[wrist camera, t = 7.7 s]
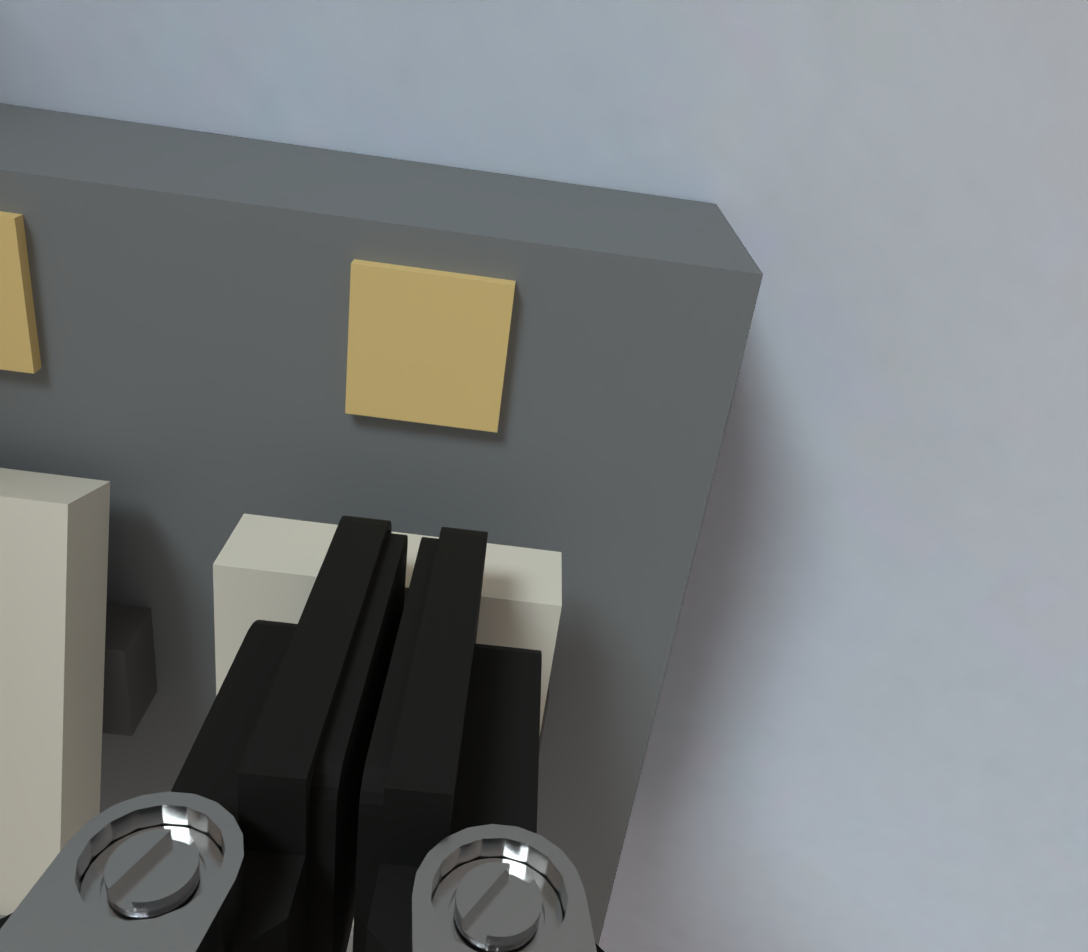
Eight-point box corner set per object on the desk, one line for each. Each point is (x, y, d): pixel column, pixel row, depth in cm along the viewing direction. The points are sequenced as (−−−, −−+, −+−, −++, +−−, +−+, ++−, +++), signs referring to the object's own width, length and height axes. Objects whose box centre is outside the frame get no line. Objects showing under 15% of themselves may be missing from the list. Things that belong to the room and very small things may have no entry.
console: (-595, 20, 14) (-1112, 41, 10) (715, 204, 15) (779, 298, 11) (-323, 724, 21) (-561, 926, 16) (583, 822, 22) (589, 1038, 17)
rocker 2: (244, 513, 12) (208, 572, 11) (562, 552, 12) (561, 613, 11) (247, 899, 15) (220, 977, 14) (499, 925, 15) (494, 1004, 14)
